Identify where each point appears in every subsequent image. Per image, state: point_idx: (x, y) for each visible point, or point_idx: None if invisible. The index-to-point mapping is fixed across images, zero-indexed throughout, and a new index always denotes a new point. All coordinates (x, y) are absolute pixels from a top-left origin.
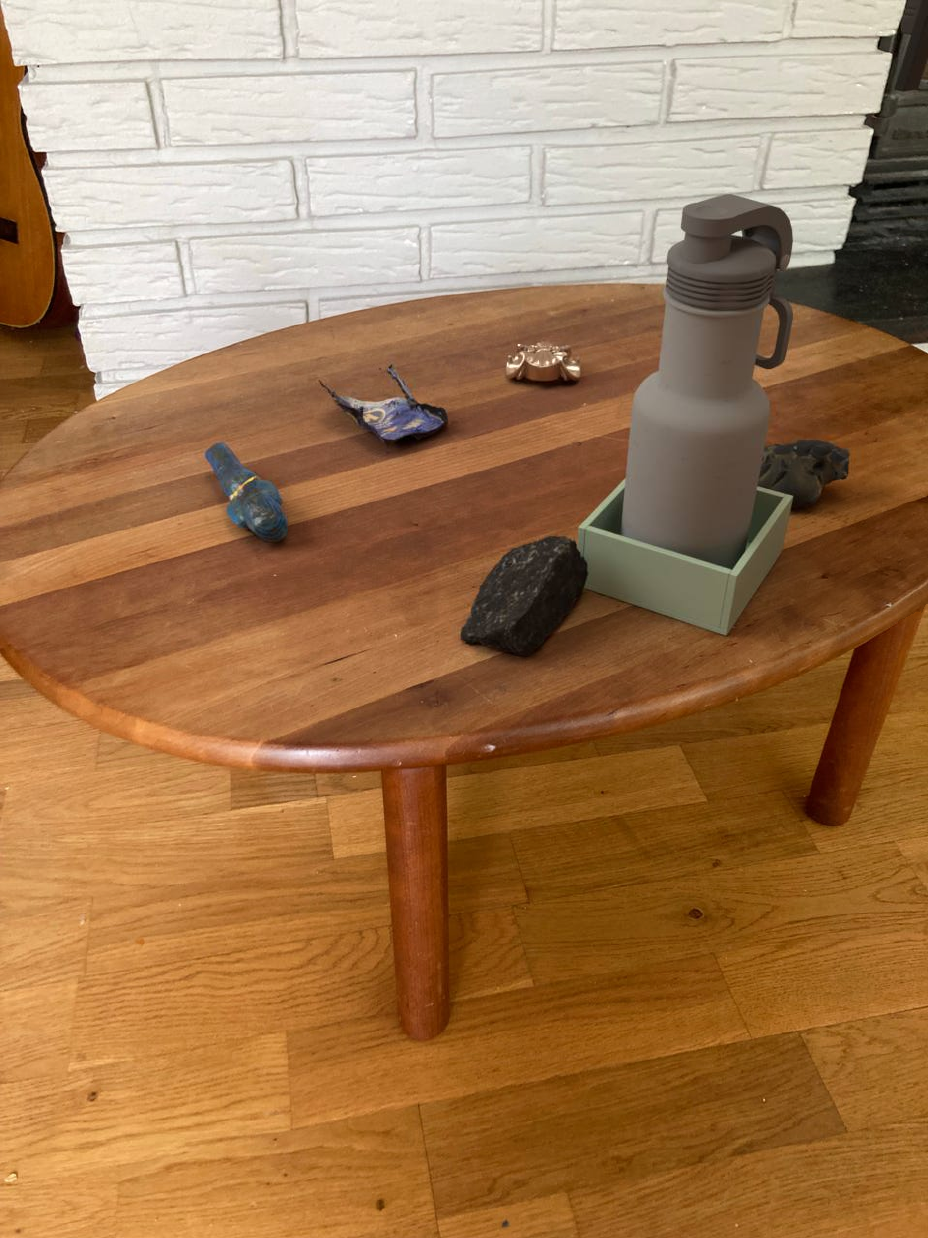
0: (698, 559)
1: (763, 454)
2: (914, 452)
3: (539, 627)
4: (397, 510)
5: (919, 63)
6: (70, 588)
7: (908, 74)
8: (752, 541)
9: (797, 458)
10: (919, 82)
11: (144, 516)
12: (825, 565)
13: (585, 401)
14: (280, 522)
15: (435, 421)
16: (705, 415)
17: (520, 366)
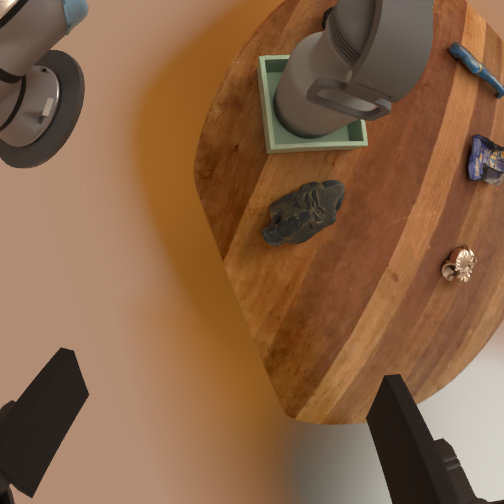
0: (284, 58)
1: (313, 208)
2: (245, 313)
3: (326, 19)
4: (438, 93)
5: (386, 426)
6: (465, 11)
7: (394, 391)
8: (268, 89)
9: (292, 214)
10: (369, 422)
11: (487, 55)
12: (240, 158)
13: (429, 251)
14: (453, 47)
15: (472, 175)
16: (319, 34)
17: (468, 248)
